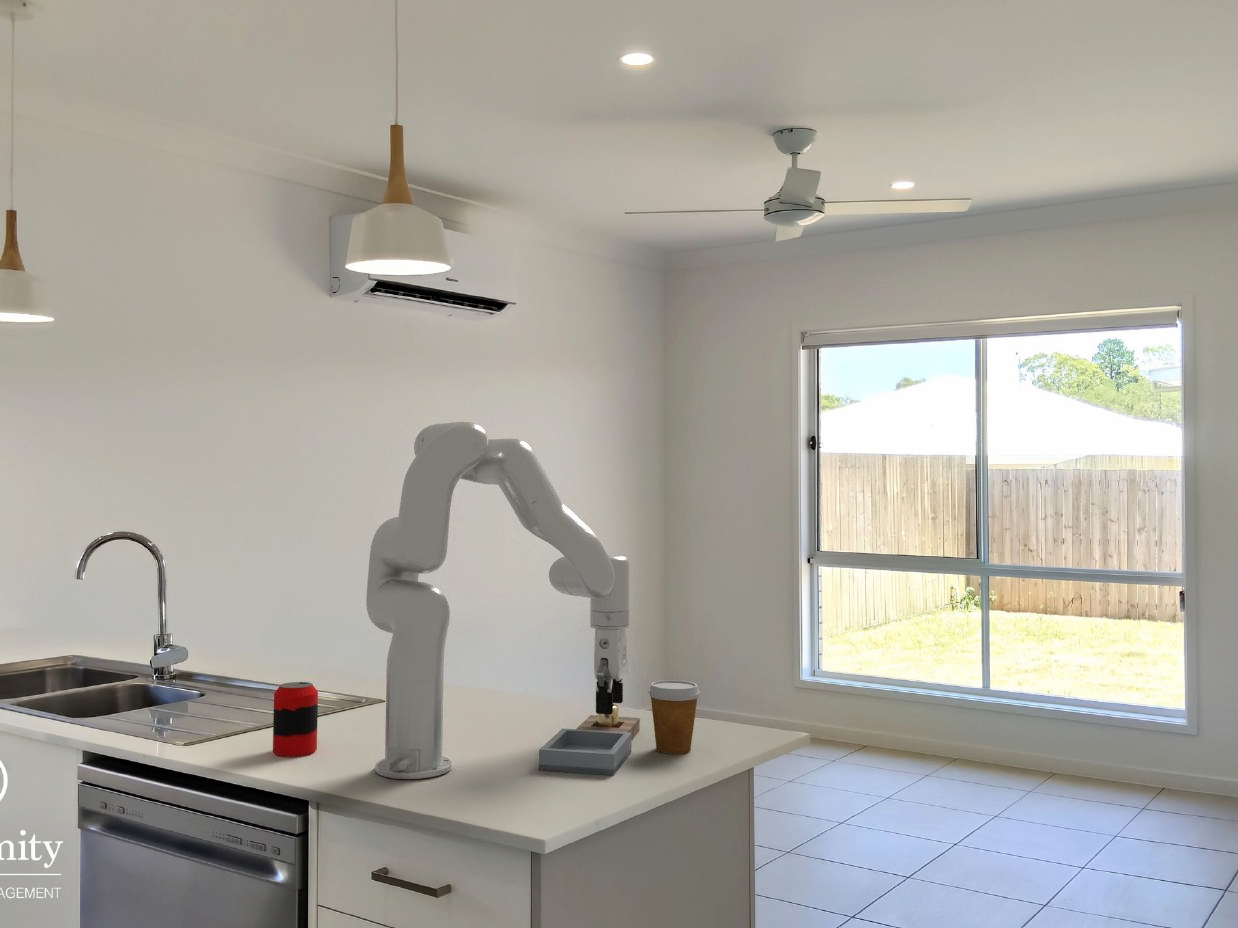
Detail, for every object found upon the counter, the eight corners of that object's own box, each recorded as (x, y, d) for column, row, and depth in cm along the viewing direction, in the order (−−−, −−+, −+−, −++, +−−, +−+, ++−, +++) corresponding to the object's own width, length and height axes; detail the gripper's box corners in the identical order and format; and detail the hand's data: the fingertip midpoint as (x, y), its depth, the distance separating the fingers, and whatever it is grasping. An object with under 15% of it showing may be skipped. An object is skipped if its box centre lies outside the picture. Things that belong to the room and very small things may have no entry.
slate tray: (613, 775, 174) (614, 754, 174) (538, 770, 177) (539, 749, 177) (631, 751, 190) (631, 732, 190) (562, 747, 193) (562, 728, 193)
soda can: (325, 749, 189) (327, 683, 189) (298, 759, 182) (299, 690, 182) (291, 745, 192) (293, 679, 192) (263, 754, 185) (264, 686, 185)
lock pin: (615, 740, 199) (616, 708, 199) (595, 738, 199) (595, 707, 200) (619, 735, 203) (620, 704, 203) (599, 734, 203) (600, 703, 204)
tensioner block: (626, 747, 193) (626, 733, 193) (573, 743, 195) (574, 730, 195) (639, 730, 207) (639, 717, 207) (590, 727, 209) (590, 714, 209)
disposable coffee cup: (707, 748, 194) (708, 683, 194) (684, 759, 185) (685, 691, 186) (662, 741, 198) (663, 677, 199) (638, 751, 190) (639, 685, 191)
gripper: (620, 626, 192) (620, 719, 192) (636, 614, 209) (636, 699, 209) (580, 624, 194) (580, 717, 194) (600, 613, 211) (600, 697, 211)
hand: (609, 707), depth 201 cm, fingers open, 9 cm apart
